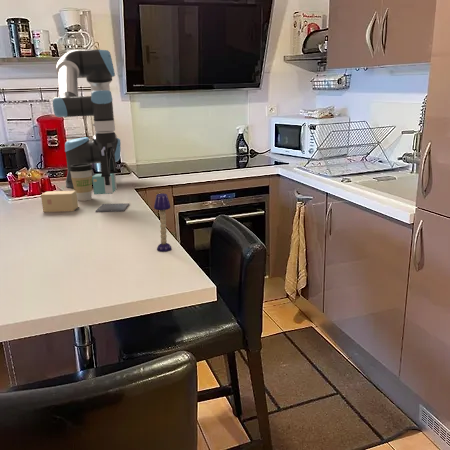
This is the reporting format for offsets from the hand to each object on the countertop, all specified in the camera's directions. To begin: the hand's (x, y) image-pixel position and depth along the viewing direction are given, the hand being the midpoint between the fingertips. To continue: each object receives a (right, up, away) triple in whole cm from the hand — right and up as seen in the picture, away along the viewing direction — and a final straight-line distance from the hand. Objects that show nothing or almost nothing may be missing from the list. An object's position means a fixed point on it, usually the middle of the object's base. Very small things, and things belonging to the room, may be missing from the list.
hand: (111, 191), depth 184 cm
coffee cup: (-17, -2, +20) cm, 26 cm away
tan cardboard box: (-21, -7, +3) cm, 22 cm away
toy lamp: (+28, -21, -48) cm, 59 cm away
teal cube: (-3, 0, 0) cm, 3 cm away
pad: (0, -7, +2) cm, 7 cm away
